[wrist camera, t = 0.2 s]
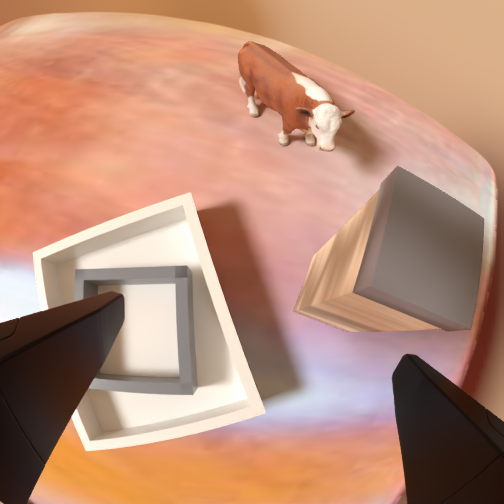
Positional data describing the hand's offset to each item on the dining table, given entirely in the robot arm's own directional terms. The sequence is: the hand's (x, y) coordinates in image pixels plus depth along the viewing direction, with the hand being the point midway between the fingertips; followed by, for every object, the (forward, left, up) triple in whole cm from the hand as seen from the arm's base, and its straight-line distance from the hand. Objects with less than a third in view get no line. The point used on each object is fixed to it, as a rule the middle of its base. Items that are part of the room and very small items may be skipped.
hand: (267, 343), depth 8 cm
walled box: (+3, +8, -14) cm, 16 cm away
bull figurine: (+17, -9, -14) cm, 24 cm away
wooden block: (+1, -7, -14) cm, 16 cm away
